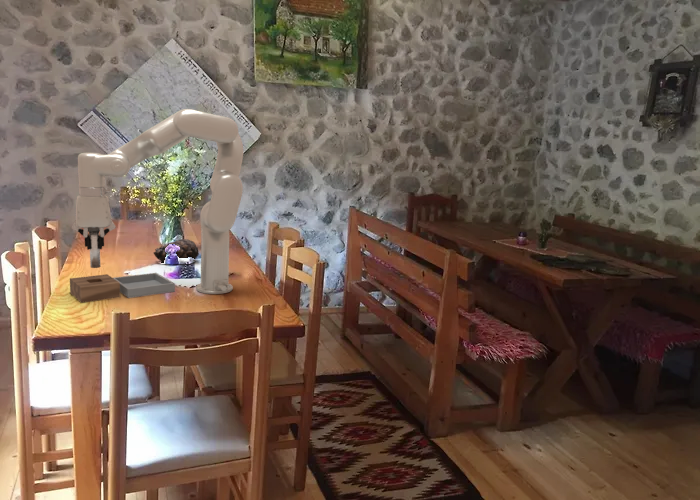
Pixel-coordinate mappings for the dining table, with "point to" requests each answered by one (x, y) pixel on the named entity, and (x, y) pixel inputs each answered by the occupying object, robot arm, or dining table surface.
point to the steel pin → (94, 247)
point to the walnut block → (94, 288)
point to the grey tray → (144, 285)
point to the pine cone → (185, 251)
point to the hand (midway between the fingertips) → (94, 248)
